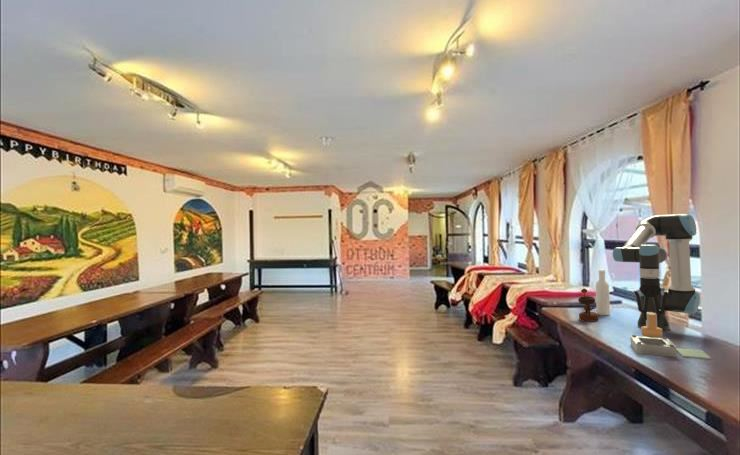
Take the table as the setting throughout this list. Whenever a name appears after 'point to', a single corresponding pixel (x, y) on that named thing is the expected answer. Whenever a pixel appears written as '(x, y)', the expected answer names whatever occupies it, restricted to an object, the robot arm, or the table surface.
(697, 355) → the mat
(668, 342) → the housing
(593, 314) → the brown wooden tiered piece
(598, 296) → the bottle
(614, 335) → the table surface
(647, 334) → the orange stamp
